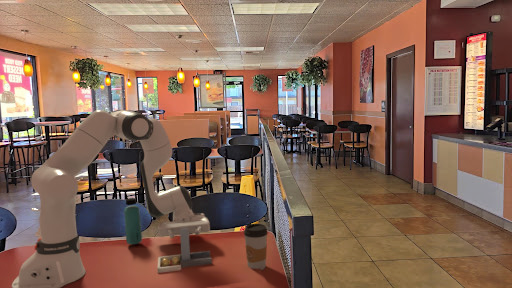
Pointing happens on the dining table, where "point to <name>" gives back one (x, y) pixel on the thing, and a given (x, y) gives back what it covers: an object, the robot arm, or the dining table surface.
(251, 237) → the coffee cup
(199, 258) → the slot rail
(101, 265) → the dining table surface
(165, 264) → the gold metallic ball
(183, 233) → the tall gray pillar
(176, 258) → the brass sphere
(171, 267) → the ball tray
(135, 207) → the beverage bottle
